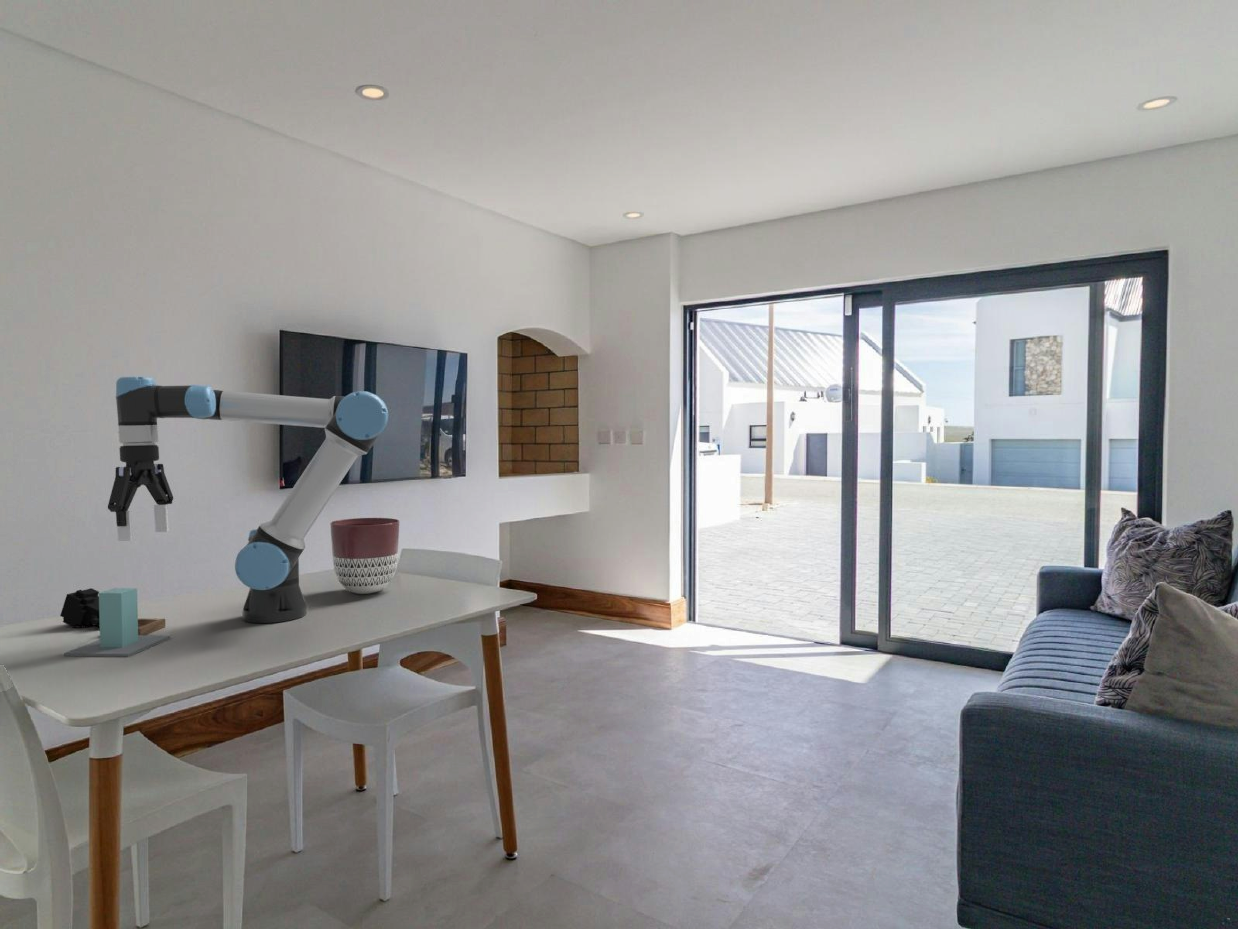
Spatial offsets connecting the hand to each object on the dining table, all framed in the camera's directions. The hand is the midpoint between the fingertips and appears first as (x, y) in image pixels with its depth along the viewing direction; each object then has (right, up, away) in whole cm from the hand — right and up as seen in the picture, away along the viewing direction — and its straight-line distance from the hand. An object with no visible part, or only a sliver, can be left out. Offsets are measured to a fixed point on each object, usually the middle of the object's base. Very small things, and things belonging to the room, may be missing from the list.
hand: (144, 536), depth 167 cm
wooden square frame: (-6, -24, +6) cm, 25 cm away
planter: (+34, -22, +50) cm, 64 cm away
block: (-2, -24, -6) cm, 24 cm away
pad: (-1, -24, -6) cm, 25 cm away
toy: (-18, -24, +11) cm, 32 cm away
